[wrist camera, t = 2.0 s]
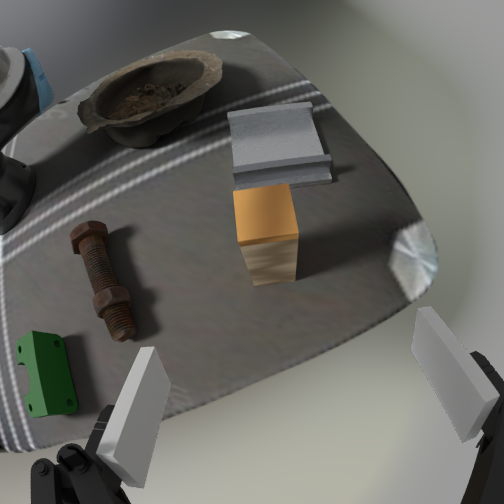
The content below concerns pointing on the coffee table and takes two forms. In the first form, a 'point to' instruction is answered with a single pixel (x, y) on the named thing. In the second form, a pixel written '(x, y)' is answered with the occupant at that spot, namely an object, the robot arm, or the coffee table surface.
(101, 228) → the bolt
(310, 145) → the keeper bracket
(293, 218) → the block
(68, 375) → the green notched mounting bracket
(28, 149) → the coffee table surface
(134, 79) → the stone bowl
